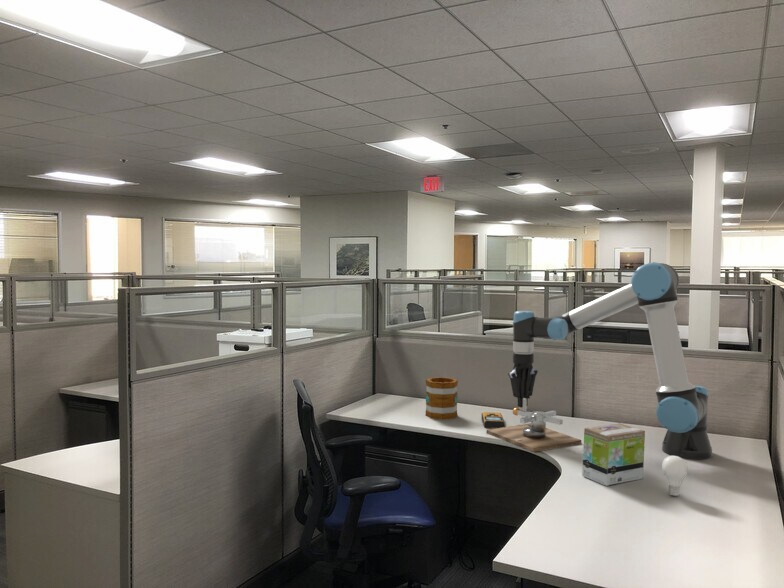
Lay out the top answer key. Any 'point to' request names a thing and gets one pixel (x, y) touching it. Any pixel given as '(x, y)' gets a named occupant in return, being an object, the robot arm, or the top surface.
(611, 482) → the tea box
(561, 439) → the wooden board
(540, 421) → the capstan
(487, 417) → the electronic device
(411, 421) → the top surface
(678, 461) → the lightbulb
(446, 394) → the mug
